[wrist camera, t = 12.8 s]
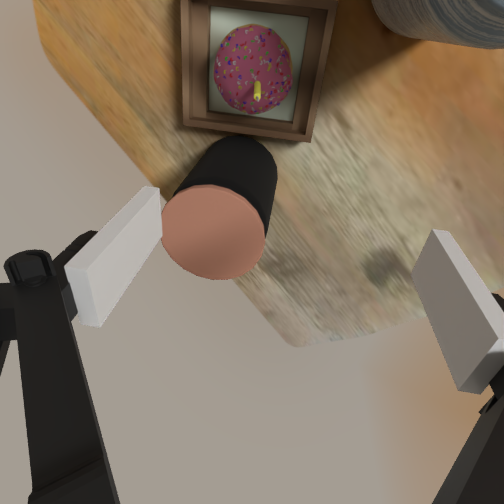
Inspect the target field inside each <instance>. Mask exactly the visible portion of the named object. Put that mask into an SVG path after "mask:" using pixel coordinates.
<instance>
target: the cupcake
mask: <svg viewBox="0 0 504 504" xmlns="http://www.w3.org/2000/svg"><path fill="white" fill-rule="evenodd" d="M292 70H293V66H292V60H291V54H290V50H289V48H288V46H287V45H286V43H285V42H284V41H283V40H282V38H281V37H279V35H278V34H277V33H276V32H275V31H274V30H273V29H271V28H268V27H265V26H262V25H258V24H247V25H243V26H240V27H237V28H235V29H233V30H232V31H231V32H230V33H228V34H227V35H226V36H225V38H224V39H223V40H222V42H221V44H220V46H219V49H218V52H217V54H216V58H215V63H214V70H213V77H214V81H215V83H216V87H217V88H218V92H219V93H220V94H221V95H222V97H223V99H224V100H225V103H227V104H228V105H229V106H231V107H233V108H235V109H237V110H239V111H241V112H244V113H246V114H247V115H248V114H260V113H264V112H267V111H269V110H271V109H273V108H274V107H276V106H277V105H278V104H279V105H280V103H281V102H282V101H283V100H284V99H285V97H286V96H287V95H288V94H289V91H290V89H291V86H292V83H293V77H292ZM279 105H278V106H279Z"/></svg>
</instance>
